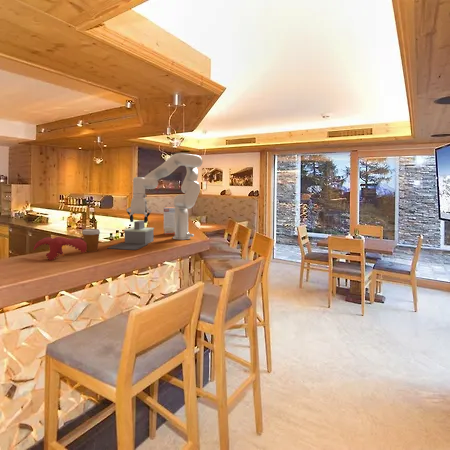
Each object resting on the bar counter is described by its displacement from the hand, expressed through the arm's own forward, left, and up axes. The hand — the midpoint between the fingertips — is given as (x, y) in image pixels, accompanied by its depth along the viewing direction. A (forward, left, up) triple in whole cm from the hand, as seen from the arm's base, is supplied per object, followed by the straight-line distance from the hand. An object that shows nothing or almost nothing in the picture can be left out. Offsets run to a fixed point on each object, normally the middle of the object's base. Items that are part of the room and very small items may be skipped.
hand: (138, 222), depth 218 cm
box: (0, 0, -13) cm, 13 cm away
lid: (0, 0, -6) cm, 6 cm away
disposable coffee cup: (+14, +34, -14) cm, 39 cm away
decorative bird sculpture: (+20, +55, -14) cm, 60 cm away
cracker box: (-10, -41, -14) cm, 45 cm away
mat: (0, +17, -13) cm, 21 cm away
